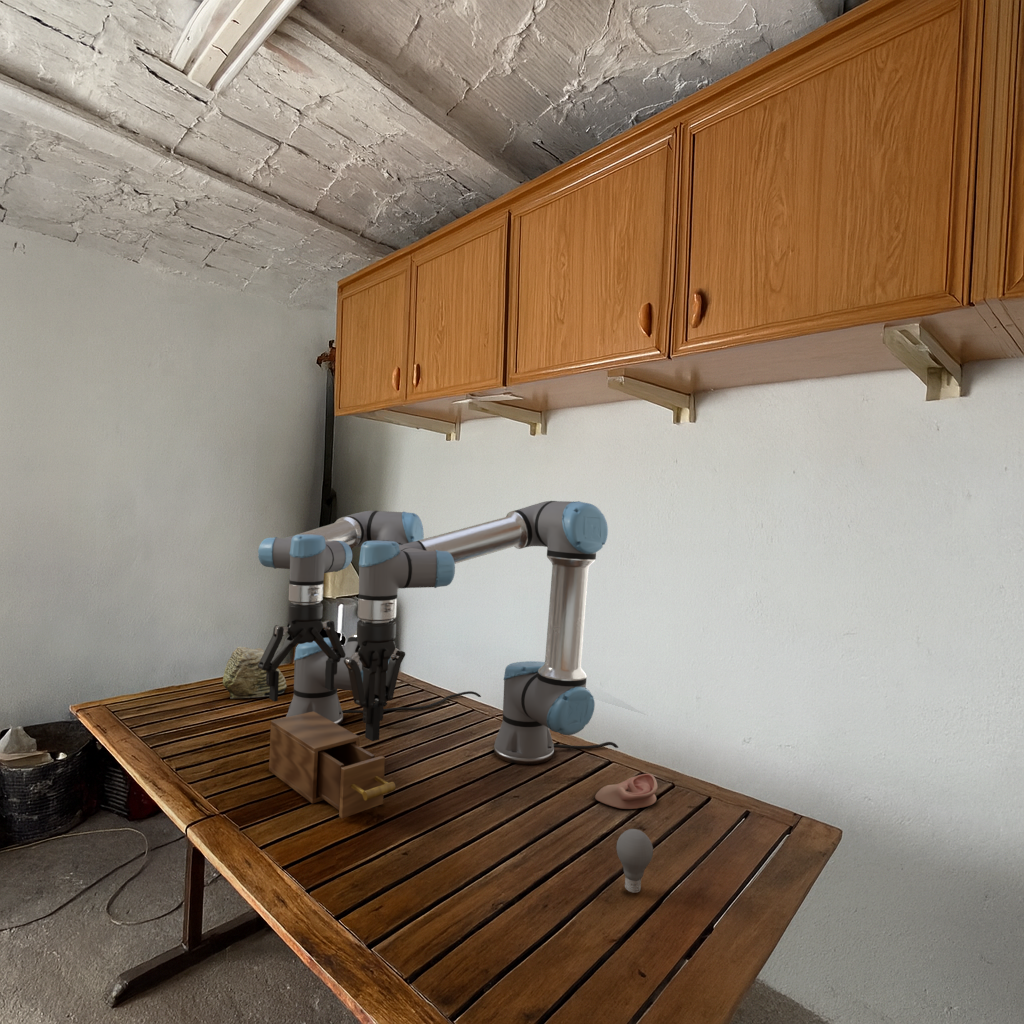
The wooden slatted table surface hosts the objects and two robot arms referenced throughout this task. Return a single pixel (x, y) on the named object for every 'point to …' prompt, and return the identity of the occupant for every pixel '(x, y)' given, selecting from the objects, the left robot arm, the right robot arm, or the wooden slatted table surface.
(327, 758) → the drawer
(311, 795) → the cabinet
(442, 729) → the wooden slatted table surface
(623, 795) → the anatomical model
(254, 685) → the fossil
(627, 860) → the light bulb
